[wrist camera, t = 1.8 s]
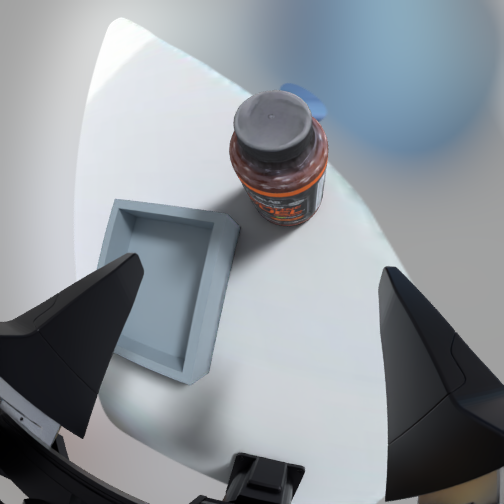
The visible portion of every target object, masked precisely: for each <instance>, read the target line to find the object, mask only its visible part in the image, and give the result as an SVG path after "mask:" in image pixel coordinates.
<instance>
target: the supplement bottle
mask: <svg viewBox="0 0 504 504" xmlns="http://www.w3.org/2000/svg"><path fill="white" fill-rule="evenodd" d="M234 130H235V131H234V132H233V135H232V138H231V141H230V148H229V154H230V160H231V163H232V166H233V168H234V170H235V172H236V174H237V176H238V178H239V179H240V181H241V183H242V185H243V187H244V188H245V190H246V191H247V193H248V195H249V197H250V198H251V200H252V202H253V204H254V205H255V207H256V209H257V210H258V212H259V213H260V214H261V215H262V216H263V217H264V218H265V219H267V220H268V221H270V222H272V223H274V224H277V225H281V226H294V225H298V224H301V223H303V222H305V221H307V220H309V219H310V218H311V217H312V216H313V215H314V214H315V213H316V211H317V210H318V208H319V206H320V204H321V200H322V196H323V189H324V182H325V175H326V168H327V159H328V141H327V137H326V134H325V132H324V130H323V128H322V126H321V125H320V123H319V122H318V121H317V120H316V119H315V118H314V117H312V114H311V111H310V109H309V107H308V105H307V104H306V103H305V102H304V101H303V100H302V99H301V98H300V97H298V96H296V95H294V94H292V93H290V92H286V91H280V90H272V91H265V92H260V93H258V94H255V95H254V96H251V97H250V98H248V99H247V100H246V101H244V102H243V103H242V104H241V105H240V107H239V108H238V110H237V112H236V114H235V117H234Z"/></svg>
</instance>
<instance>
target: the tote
mask: <svg viewBox="0 0 504 504" xmlns="http://www.w3.org/2000/svg"><path fill="white" fill-rule="evenodd" d="M239 231H240V226H239V225H238V224H237V223H236V222H235V221H234V220H233V219H232V218H231V217H230V216H229V215H228V214H226V213H220V212H213V211H206V210H199V209H192V208H185V207H177V206H170V205H162V204H155V203H147V202H138V201H130V200H121V199H115V200H114V204H113V207H112V210H111V214H110V217H109V221H108V225H107V228H106V232H105V236H104V240H103V244H102V248H101V253H100V257H99V262H98V267H97V270H98V269H99V268H101V267H103V266H105V265H106V264H108V263H110V262H112V261H113V260H115V259H117V258H119V257H121V256H122V255H124V254H126V253H137V254H138V255H139V258H140V260H141V263H142V266H143V268H144V276H143V279H142V282H141V284H140V287H139V290H138V293H137V296H136V299H135V302H134V304H133V307H132V310H131V312H130V314H129V316H128V319H127V321H126V323H125V326H124V328H123V330H122V333H121V335H120V337H119V340H118V342H117V345H116V347H115V350H114V353H116V354H118V355H120V356H122V357H124V358H126V359H128V360H130V361H132V362H135V363H137V364H139V365H141V366H143V367H146V368H148V369H150V370H153V371H155V372H157V373H160V374H162V375H165V376H167V377H170V378H172V379H175V380H177V381H180V382H182V383H185V384H188V385H192V384H193V383H195V382H196V381H198V380H199V379H200V378H202V377H203V376H205V375H206V374H208V373H209V369H210V364H211V359H212V355H213V350H214V345H215V340H216V335H217V331H218V326H219V321H220V317H221V312H222V307H223V303H224V298H225V294H226V289H227V284H228V280H229V275H230V271H231V266H232V262H233V258H234V253H235V249H236V244H237V240H238V235H239Z"/></svg>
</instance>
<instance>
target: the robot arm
mask: <svg viewBox="0 0 504 504" xmlns="http://www.w3.org/2000/svg"><path fill="white" fill-rule="evenodd" d="M143 276H144V268H143V266H142V263H141V260H140V258H139V255H138V254H137V253H126V254H124V255H122V256H121V257H119V258H117V259H115V260H113V261H112V262H110V263H108V264H106V265H105V266H103V267H101V268H99V269H98V270H96V271H94V272H93V273H91V274H89V275H87V276H86V277H84V278H82V279H81V280H79V281H77V282H76V283H74V284H72V285H71V286H69V287H67V288H66V289H64V290H63V291H61V292H60V293H58V294H56V295H54V296H53V297H51V298H50V299H48V300H46V301H45V302H43V303H41V304H40V305H38V306H36V307H34V308H33V309H31V310H29V311H27V312H26V313H24V314H22V315H21V316H19V317H17V318H15V319H13V320H11V321H7V322H0V475H2V476H4V477H6V478H8V479H10V480H12V481H13V483H14V484H15V485H16V486H17V487H18V488H19V489H21V491H22V492H23V493H24V494H25V495H27V496H28V497H29V498H28V499H24V500H23V504H149V503H147V502H144V501H142V500H140V499H137V498H135V497H133V496H131V495H129V494H127V493H125V492H123V491H121V490H119V489H117V488H114V487H113V486H110V485H109V484H107V483H105V482H104V481H102V480H100V479H98V478H96V477H95V476H93V475H91V474H90V473H88V472H86V471H85V470H83V469H82V468H80V467H79V466H77V465H75V464H74V463H72V462H71V461H69V458H68V454H67V451H66V447H65V443H64V439H63V436H61V435H59V434H58V432H59V430H60V428H61V426H63V427H64V428H66V429H67V430H69V431H70V432H72V433H73V434H75V435H77V436H78V437H80V438H82V439H83V438H84V436H85V432H86V429H87V426H88V423H89V419H90V416H91V413H92V410H93V407H94V404H95V401H96V398H97V394H98V392H99V389H100V386H101V384H102V381H103V378H104V375H105V373H106V370H107V367H108V365H109V362H110V360H111V357H112V355H113V352H114V350H115V347H116V345H117V342H118V340H119V337H120V335H121V333H122V330H123V328H124V326H125V323H126V321H127V319H128V316H129V314H130V312H131V310H132V307H133V304H134V302H135V299H136V296H137V293H138V290H139V287H140V284H141V282H142V279H143ZM378 293H379V314H380V334H381V343H382V351H383V360H384V370H385V381H386V396H387V417H388V459H387V481H386V494H385V502H387V501H394V500H401V499H406V498H412V497H417V496H418V503H417V504H504V385H503V384H502V383H501V382H500V381H499V379H498V378H497V377H496V376H495V375H494V374H493V373H492V372H491V371H490V370H489V368H488V367H487V366H486V365H485V364H484V363H483V362H482V361H481V360H480V359H479V358H478V357H477V355H476V354H475V353H474V352H473V351H472V350H471V349H470V348H469V346H468V345H467V344H466V343H465V342H464V341H463V339H462V338H461V337H460V336H459V335H458V333H456V332H455V330H454V329H453V328H452V326H450V324H449V323H448V322H447V321H446V320H445V318H444V317H443V316H442V315H441V314H440V313H439V312H438V310H437V309H435V307H434V306H433V305H432V304H431V303H430V302H429V301H428V300H427V298H425V296H424V295H423V294H422V293H421V292H420V291H419V290H418V289H417V288H416V287H415V286H414V285H413V284H412V283H411V282H410V281H409V280H408V278H407V277H406V276H405V275H404V274H403V273H402V272H401V271H400V270H399V269H398V268H396V267H390V266H386V267H384V269H383V272H382V276H381V279H380V283H379V289H378ZM240 457H243V459H242V458H240ZM297 470H302V471H297ZM304 473H305V467H303V466H300V465H294V464H289V463H285V462H280V461H276V460H271V459H267V458H263V457H257V456H253V455H249V454H245V453H238V454H237V456H236V459H235V462H234V466H233V469H232V473H231V476H230V480H229V483H228V486H227V490H226V495H225V497H224V499H223V501H220V500H215V499H211V498H207V497H206V496H203V495H199V496H198V497H197V498H196V499H194V500H193V501H192V502H191V503H189V504H291V501H292V499H293V497H294V495H295V493H296V490H297V488H298V486H299V484H300V482H301V480H302V478H303V475H304ZM0 504H4V503H3V502H2V501H1V500H0Z"/></svg>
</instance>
